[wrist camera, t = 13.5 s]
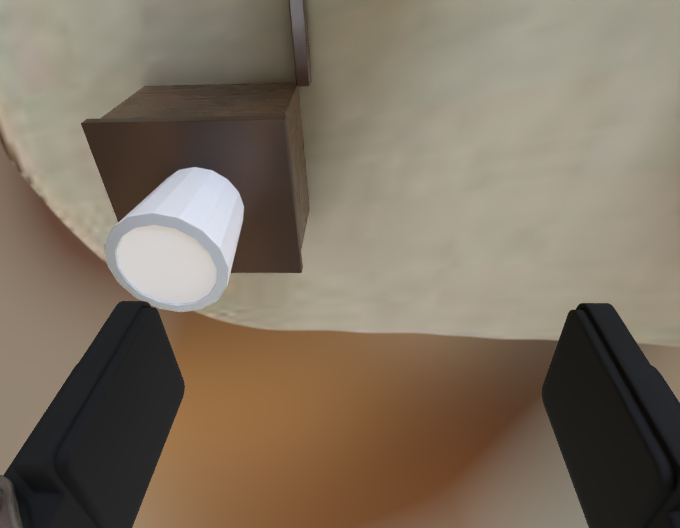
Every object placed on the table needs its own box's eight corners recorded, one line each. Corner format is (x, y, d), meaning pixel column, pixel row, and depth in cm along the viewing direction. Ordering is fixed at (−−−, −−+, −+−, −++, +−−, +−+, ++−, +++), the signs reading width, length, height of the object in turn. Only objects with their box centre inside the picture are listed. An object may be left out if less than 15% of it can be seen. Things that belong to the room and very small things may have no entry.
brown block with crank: (290, -210, 25) (260, -263, 18) (320, 212, 41) (310, 273, 34) (56, -195, 26) (-63, -240, 19) (174, 213, 42) (134, 273, 35)
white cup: (246, 158, 29) (217, 216, 23) (258, 248, 33) (236, 315, 27) (139, 156, 29) (85, 212, 23) (164, 246, 33) (123, 311, 28)
